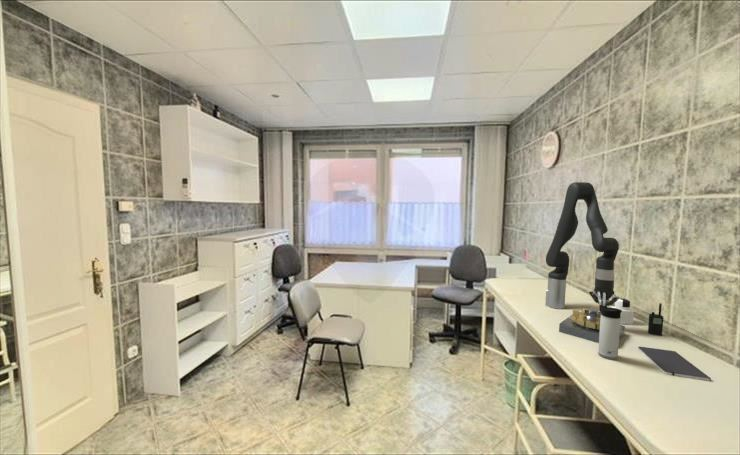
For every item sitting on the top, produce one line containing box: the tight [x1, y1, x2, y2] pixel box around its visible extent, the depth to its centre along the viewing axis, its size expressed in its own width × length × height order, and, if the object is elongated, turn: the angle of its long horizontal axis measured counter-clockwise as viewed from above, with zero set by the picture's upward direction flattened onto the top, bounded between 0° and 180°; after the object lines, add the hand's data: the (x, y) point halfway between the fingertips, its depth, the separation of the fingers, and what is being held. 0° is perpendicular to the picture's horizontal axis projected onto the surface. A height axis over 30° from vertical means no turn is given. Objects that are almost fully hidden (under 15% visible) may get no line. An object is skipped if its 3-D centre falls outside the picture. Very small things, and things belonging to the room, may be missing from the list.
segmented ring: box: [571, 304, 601, 329], centre depth 150 cm, size 16×24×4 cm
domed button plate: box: [558, 312, 626, 344], centre depth 147 cm, size 21×21×8 cm
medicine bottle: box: [609, 297, 635, 325], centre depth 162 cm, size 7×7×12 cm
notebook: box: [637, 346, 712, 382], centre depth 120 cm, size 13×2×21 cm
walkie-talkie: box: [647, 303, 664, 337], centre depth 146 cm, size 5×3×15 cm
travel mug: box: [597, 306, 622, 361], centre depth 124 cm, size 6×7×20 cm
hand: (603, 312), depth 153 cm, fingers closed
